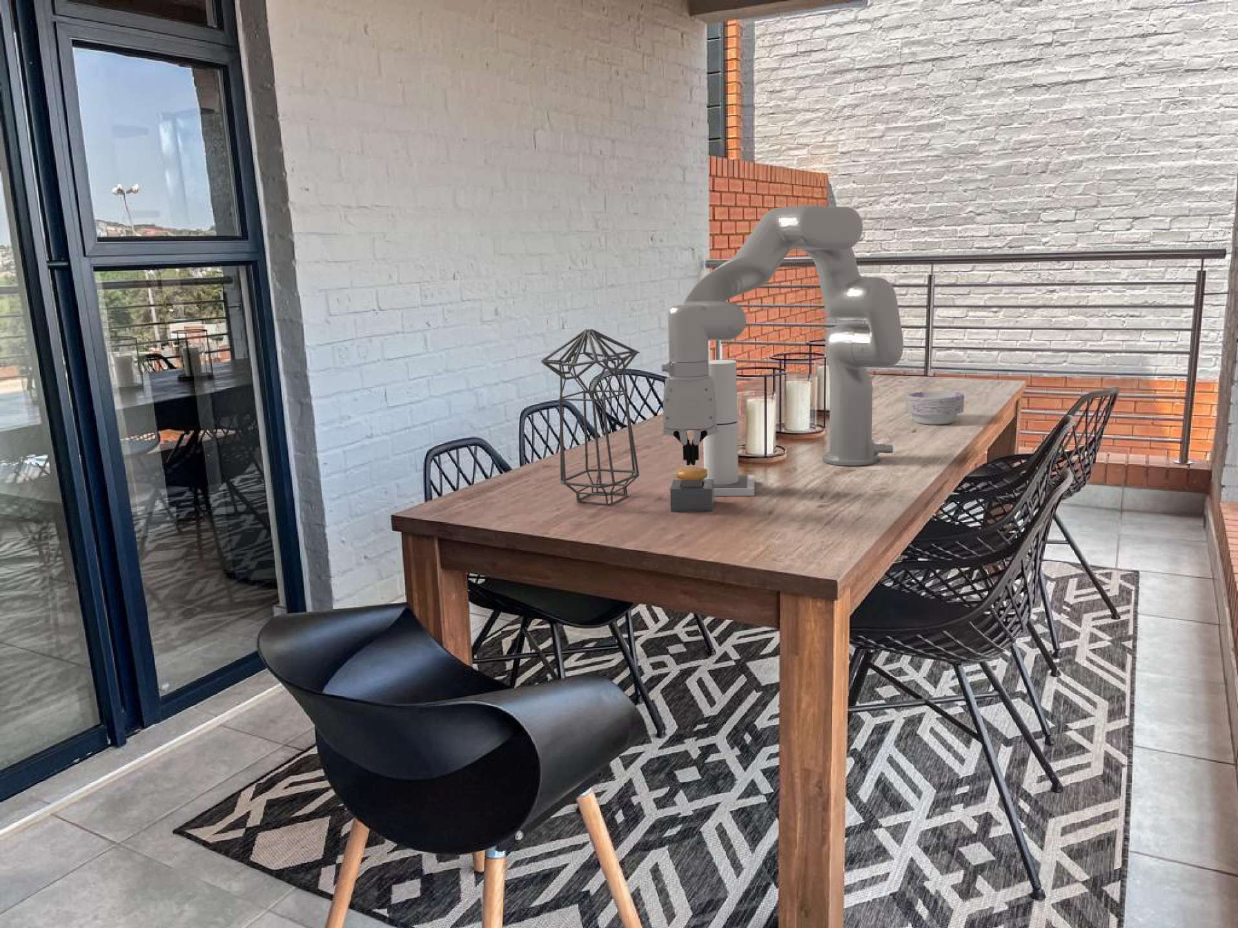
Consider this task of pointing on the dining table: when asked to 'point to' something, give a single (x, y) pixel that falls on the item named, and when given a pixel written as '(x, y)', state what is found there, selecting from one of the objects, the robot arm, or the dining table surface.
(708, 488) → the button housing
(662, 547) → the dining table surface
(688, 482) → the button
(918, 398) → the paper bowls
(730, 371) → the cylindrical container
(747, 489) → the pallet
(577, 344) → the geometric lantern
